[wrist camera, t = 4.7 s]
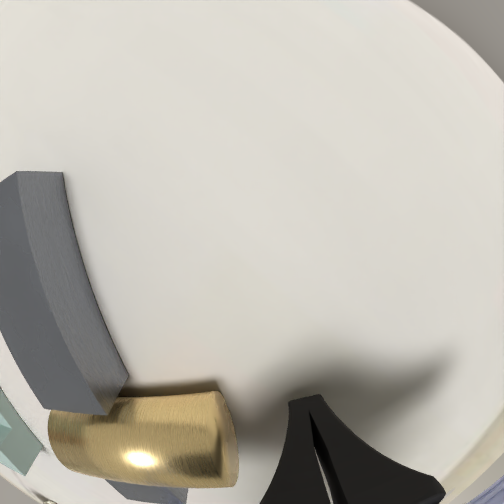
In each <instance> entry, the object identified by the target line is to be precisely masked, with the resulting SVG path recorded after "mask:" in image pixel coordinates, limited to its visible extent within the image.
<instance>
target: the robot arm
mask: <svg viewBox="0 0 504 504" xmlns="http://www.w3.org/2000/svg"><path fill="white" fill-rule="evenodd" d="M288 406H289V420H288V428H287V434H286V439H285V444H284V448H283V451H282V455H281V458H280V461H279V464H278V467H277V469H276V472H275V475H274V477H273V479H272V481H271V483H270V486H269V488H268V490H267V492H266V493H265V495H264V497H263V499H262V500H261V502H260V504H330V500H329V497H328V494H327V491H326V487H325V484H324V481H323V477H322V474H321V471H320V467H319V464H318V460H317V457H316V453H317V455H318V458H319V461H320V463H321V466H322V469H323V471H324V474H325V476H326V479H327V482H328V485H329V488H330V492H331V496H332V500H333V504H439V503H440V502H441V500H442V499H443V498H444V496H445V495H446V492H445V490H444V488H443V487H442V485H441V484H440V483H439V482H438V481H437V480H436V479H435V478H434V477H433V476H430V475H427V474H424V473H421V472H418V471H415V470H413V469H410V468H408V467H406V466H403V465H401V464H399V463H397V462H395V461H393V460H392V459H390V458H388V457H386V456H384V455H383V454H381V453H379V452H378V451H376V450H375V449H373V448H372V447H371V446H369V445H368V444H366V443H365V442H364V441H363V440H361V439H360V438H359V437H358V436H357V435H355V434H354V433H353V432H352V431H351V430H350V429H349V428H348V427H347V426H346V425H345V424H344V423H343V422H342V421H341V420H340V419H339V418H338V417H337V416H336V415H335V414H334V412H333V411H332V410H331V409H330V407H329V406H328V405H327V403H326V402H325V401H324V399H323V398H322V396H321V395H320V394H317V395H313V396H309V397H305V398H300V399H296V400H292V401H290V402H289V403H288ZM314 447H315V449H314ZM315 450H316V453H315ZM467 504H504V475H503V476H502V477H501V478H500V479H499V480H497V481H496V482H495V483H494V484H492V486H490V487H489V488H487V489H486V490H485V491H483V492H482V493H481V494H479V495H478V496H477V497H475V498H474V499H473V500H471V501H470V502H468V503H467Z"/></svg>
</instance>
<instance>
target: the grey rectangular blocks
mask: <svg viewBox="0 0 504 504" xmlns="http://www.w3.org/2000/svg"><path fill="white" fill-rule="evenodd" d="M0 331H1V333H2V335H3V337H4V340H5V342H6V344H7V346H8V348H9V350H10V352H11V354H12V356H13V358H14V360H15V362H16V364H17V365H18V367H19V369H20V371H21V373H22V374H23V376H24V378H25V379H26V381H27V383H28V385H29V386H30V388H31V389H32V391H33V393H34V394H35V396H36V397H37V399H38V400H39V402H40V403H41V405H42V406H43V408H45V409H51V410H57V411H65V412H72V413H82V414H92V415H106V416H107V415H108V413H109V411H110V409H111V408H112V406H113V404H114V402H115V400H116V398H117V396H118V394H119V392H120V391H121V389H122V387H123V385H124V383H125V381H126V379H127V378H128V376H129V375H128V373H127V371H126V369H125V367H124V365H123V363H122V361H121V359H120V357H119V355H118V353H117V350H116V348H115V346H114V344H113V342H112V339H111V337H110V335H109V333H108V330H107V328H106V326H105V323H104V321H103V318H102V316H101V313H100V311H99V308H98V306H97V303H96V300H95V298H94V295H93V292H92V289H91V286H90V284H89V281H88V278H87V275H86V271H85V268H84V265H83V262H82V259H81V255H80V252H79V248H78V245H77V241H76V237H75V233H74V229H73V225H72V221H71V217H70V212H69V207H68V203H67V198H66V192H65V187H64V181H63V175H62V172H39V171H16V172H15V173H13V174H12V175H10V176H9V177H7V178H6V179H4V180H3V181H2V182H0ZM105 480H106V481H107V482H108V483H109V484H110V485H112V486H113V487H114V488H115V489H116V490H117V491H118V492H119V493H121V494H122V495H123V496H124V497H125V498H126V499H130V500H136V501H142V502H149V503H158V504H186V500H187V493H188V488H173V487H158V486H148V485H139V484H131V483H125V482H119V481H113V480H108V479H105Z"/></svg>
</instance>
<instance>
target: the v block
mask: <svg viewBox="0 0 504 504" xmlns="http://www.w3.org/2000/svg"><path fill="white" fill-rule="evenodd" d="M42 447H43V445H42V444H41V443H40V442H39V441H38V440H37V438H36V437H35V436H34V435H33V433H32V432H31V431H30V430H29V428H28V427H27V426H26V425H25V423H24V422H23V421H22V419H21V418H20V416H19V415H18V414H17V412H16V411H15V409H14V408H13V407H12V405H11V404H10V402H9V401H8V399H7V398H6V396H5V394H4V393H3V391H2V390H1V388H0V463H1V464H3V465H5V466H7V467H8V468H10V469H12V470H14V471H16V472H18V473H20V474H22V475H24V476H26V474H27V472H28V470H29V469H30V467H31V465H32V464H33V462H34V460H35V458H36V457H37V455H38V454H39V452H40V450H41V449H42Z"/></svg>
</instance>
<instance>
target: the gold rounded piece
mask: <svg viewBox="0 0 504 504" xmlns="http://www.w3.org/2000/svg"><path fill="white" fill-rule="evenodd" d="M48 436H49V441H50V444H51V447H52V449H53V451H54V453H55V455H56V457H57V458H58V460H59V461H60V462H61V463H62V464H63V465H64V466H65V467H67V468H68V469H70V470H72V471H74V472H77V473H81V474H85V475H89V476H93V477H98V478H103V479H108V480H113V481H119V482H125V483H131V484H139V485H148V486H158V487H173V488H224V487H233V486H234V485H235V484H236V482H237V479H238V472H239V457H238V447H237V440H236V434H235V430H234V425H233V421H232V418H231V415H230V412H229V410H228V407H227V405H226V403H225V400H224V398H223V396H222V394H221V393H220V392H218V391H211V392H203V393H193V394H183V395H170V396H154V397H117V398H116V400H115V402H114V404H113V406H112V408H111V409H110V411H109V413H108V415H107V416H106V415H92V414H82V413H72V412H65V411H57V410H51V412H50V415H49V419H48Z"/></svg>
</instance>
